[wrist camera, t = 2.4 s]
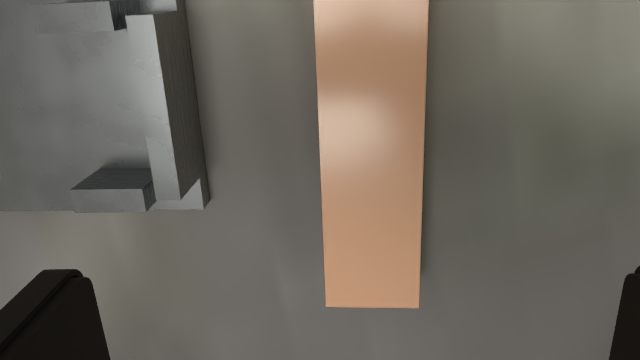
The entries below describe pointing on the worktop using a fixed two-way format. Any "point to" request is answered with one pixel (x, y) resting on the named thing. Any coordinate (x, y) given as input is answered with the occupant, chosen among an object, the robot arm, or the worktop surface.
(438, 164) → the worktop surface
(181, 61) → the drying rack
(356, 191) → the clay strip
